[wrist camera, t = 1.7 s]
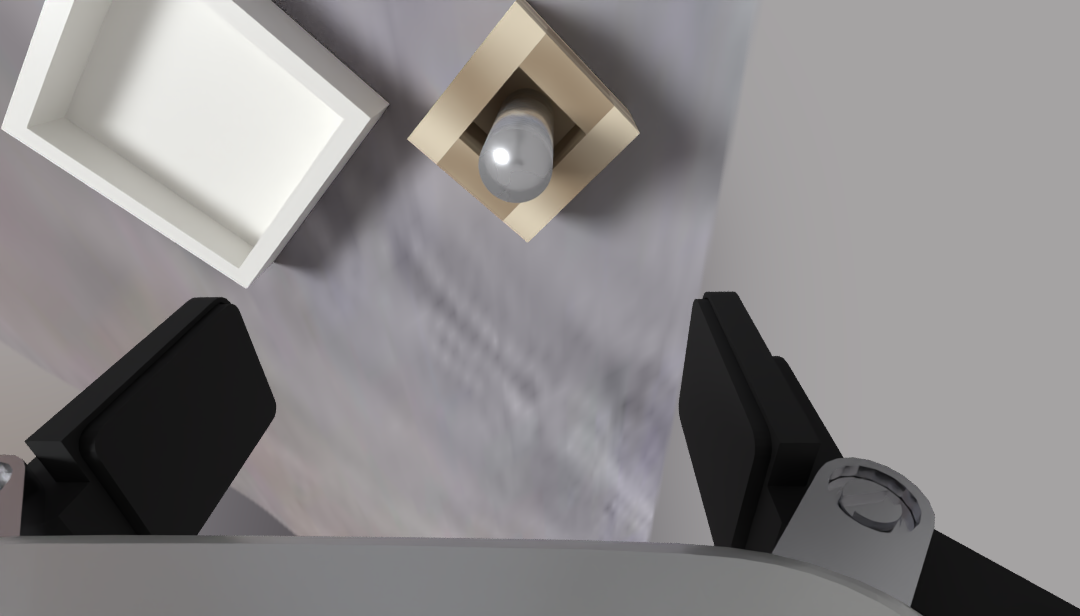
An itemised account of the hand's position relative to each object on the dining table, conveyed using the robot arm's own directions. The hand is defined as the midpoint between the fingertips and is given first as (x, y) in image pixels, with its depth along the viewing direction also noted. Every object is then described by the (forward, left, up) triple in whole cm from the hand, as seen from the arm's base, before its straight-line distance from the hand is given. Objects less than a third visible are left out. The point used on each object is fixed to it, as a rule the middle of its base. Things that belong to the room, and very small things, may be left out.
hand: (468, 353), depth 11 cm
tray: (+12, -13, -22) cm, 28 cm away
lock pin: (0, 0, -21) cm, 21 cm away
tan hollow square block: (0, 0, -22) cm, 22 cm away
